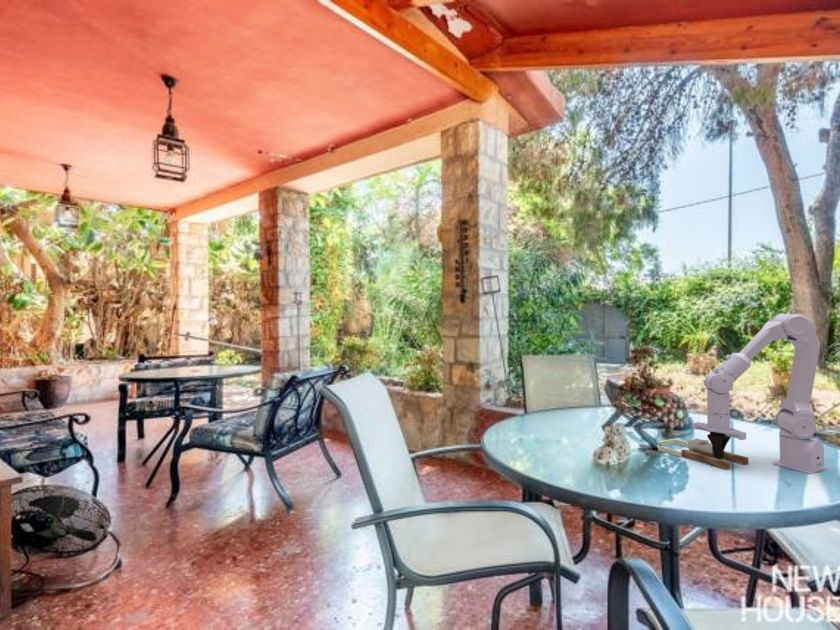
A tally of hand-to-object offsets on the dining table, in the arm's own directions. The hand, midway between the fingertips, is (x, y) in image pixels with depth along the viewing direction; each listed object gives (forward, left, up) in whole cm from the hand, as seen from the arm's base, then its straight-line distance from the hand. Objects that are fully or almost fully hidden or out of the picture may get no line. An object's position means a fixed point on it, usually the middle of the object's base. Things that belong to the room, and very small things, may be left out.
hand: (719, 458), depth 139 cm
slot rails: (+2, 0, -1) cm, 2 cm away
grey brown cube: (+2, 0, -1) cm, 2 cm away
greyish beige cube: (+6, 0, -1) cm, 6 cm away
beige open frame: (+14, 0, -1) cm, 14 cm away
